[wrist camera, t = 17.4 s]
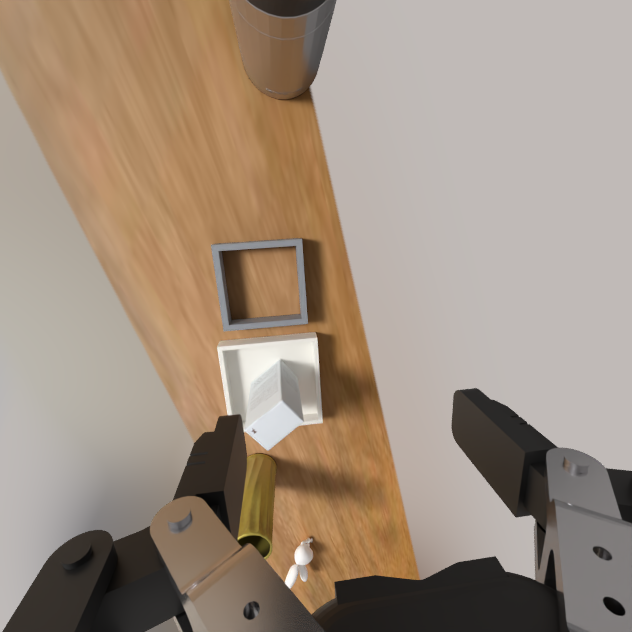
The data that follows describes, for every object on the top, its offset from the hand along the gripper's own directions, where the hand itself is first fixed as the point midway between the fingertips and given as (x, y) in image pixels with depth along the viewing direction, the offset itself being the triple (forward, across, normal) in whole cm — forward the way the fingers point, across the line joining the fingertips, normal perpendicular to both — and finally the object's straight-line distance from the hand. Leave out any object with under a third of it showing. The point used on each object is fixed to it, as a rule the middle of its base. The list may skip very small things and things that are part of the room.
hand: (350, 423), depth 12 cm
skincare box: (+36, +5, +16) cm, 39 cm away
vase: (+36, +9, +32) cm, 49 cm away
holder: (+36, +5, +1) cm, 36 cm away
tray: (+36, +5, +16) cm, 40 cm away
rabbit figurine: (+36, +4, +52) cm, 63 cm away
